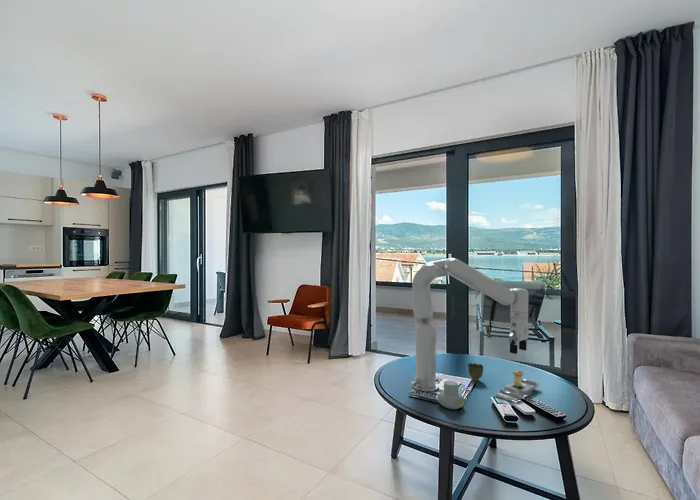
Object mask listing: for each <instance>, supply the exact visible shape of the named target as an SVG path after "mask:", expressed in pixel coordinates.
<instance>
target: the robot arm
mask: <svg viewBox="0 0 700 500" xmlns="http://www.w3.org/2000/svg"><path fill="white" fill-rule="evenodd" d="M447 276H451V277H453V278H454V279H456V280H457V281H460V282H461V283H462V284H464V285H467V287H469V288H471V289H474V290H475V291H478V292H481V294H484V295H486V296H487V297H490V298H491V299H493V300H494V301H496V302H497V303H499V304H501V305H504V306H510V310H509V311H510V313H509V318H510V324H509V335H508V339H509V340H508V341H509V353H511V354H514V355H517V354H518V349H519V350H521V351H527V347H528V346H527V341H528V339H529V336H530V335H529V331H530V330H529V320H528V319H529V290H527V289H525V288H521V287H518V288H517V287H516V288H515V287H514V288H510V287H506V286H505V285H503V284H502V283H499V282H498V281H496V280H495V279H493V278H491V277H489V276H487V275H486V274H485V273H483V272H481V271H479V270H478V269H475V268H474V267H472V266H471V265H469V264H466V263H465V262H463V261H462V260H460V259H458V258H454V257H448V258H445V259H441V260H435V261H429V262H426V263H423V265H422V266H421V267H420V268H419V269H418V270H417V271H416V272H415V274H414V276H413V279H412V283H411V284H412V285H411V287H412V300H413V302H412V303H413V304H412V309H413V317H414V318H413V319H414V326H415V332H416V333H415V335H416V336H415V340H416V341H415V377H414V381H410V383H409V386H410V388H411V387H413V388H414V389H415V390H417V391H420V390H421V392H427V391H431V392H435V391H434V390H436V391H437V389H438V388H439V389H440V385H439V384H438V382H437V381H436V379H437V375H436V374H437V373H436V372H437V338H438V334H437V327H436V326H435V323H434V321H435V320H434V315H433V312H434V306H433V302H432V297H431V284H432V282H433V281H435V280H436V279H439V278H441V277H447ZM518 341H519V342H518ZM439 389H438V390H439Z"/></svg>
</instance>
